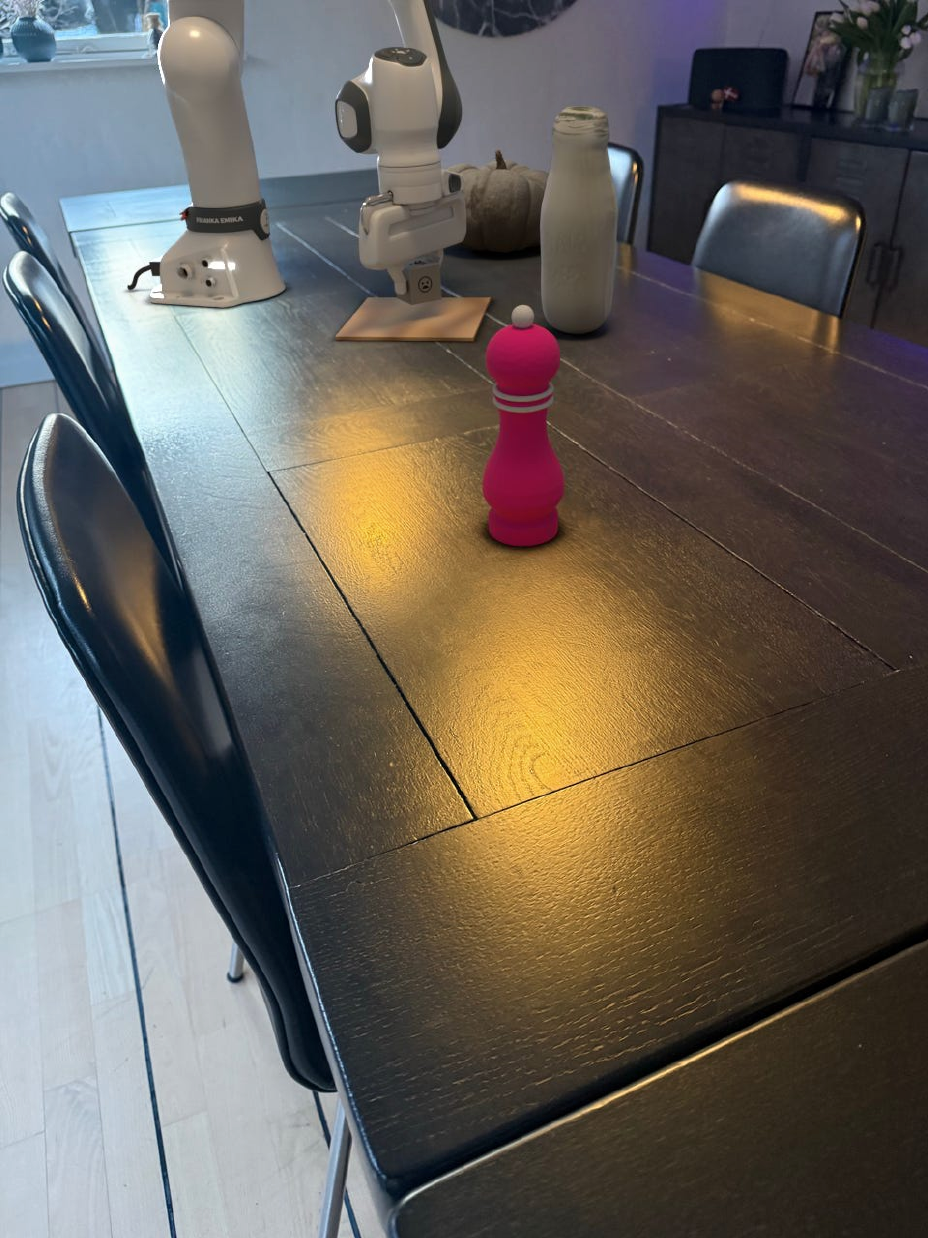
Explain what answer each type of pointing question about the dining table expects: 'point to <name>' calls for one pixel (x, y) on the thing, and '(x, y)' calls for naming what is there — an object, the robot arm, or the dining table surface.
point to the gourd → (502, 205)
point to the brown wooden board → (416, 320)
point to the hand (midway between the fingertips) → (418, 287)
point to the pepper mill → (523, 434)
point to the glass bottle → (578, 223)
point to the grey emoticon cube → (421, 281)
